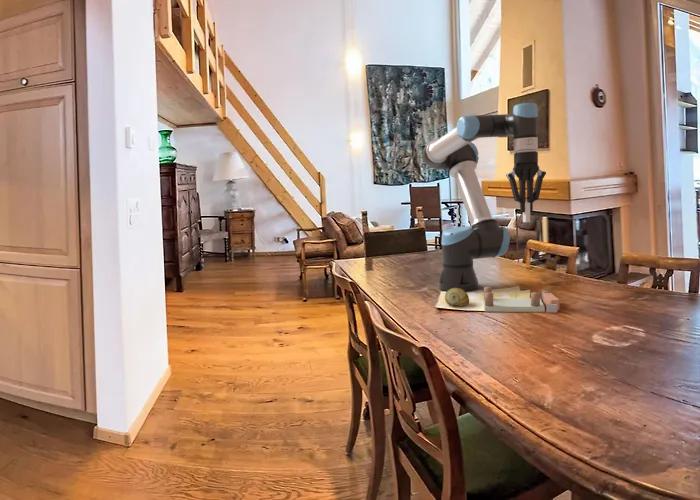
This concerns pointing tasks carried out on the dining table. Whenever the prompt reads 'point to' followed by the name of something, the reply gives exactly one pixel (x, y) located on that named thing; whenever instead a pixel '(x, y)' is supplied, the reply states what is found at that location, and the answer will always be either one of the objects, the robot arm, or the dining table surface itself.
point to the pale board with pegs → (515, 303)
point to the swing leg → (549, 298)
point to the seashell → (456, 297)
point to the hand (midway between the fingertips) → (526, 221)
